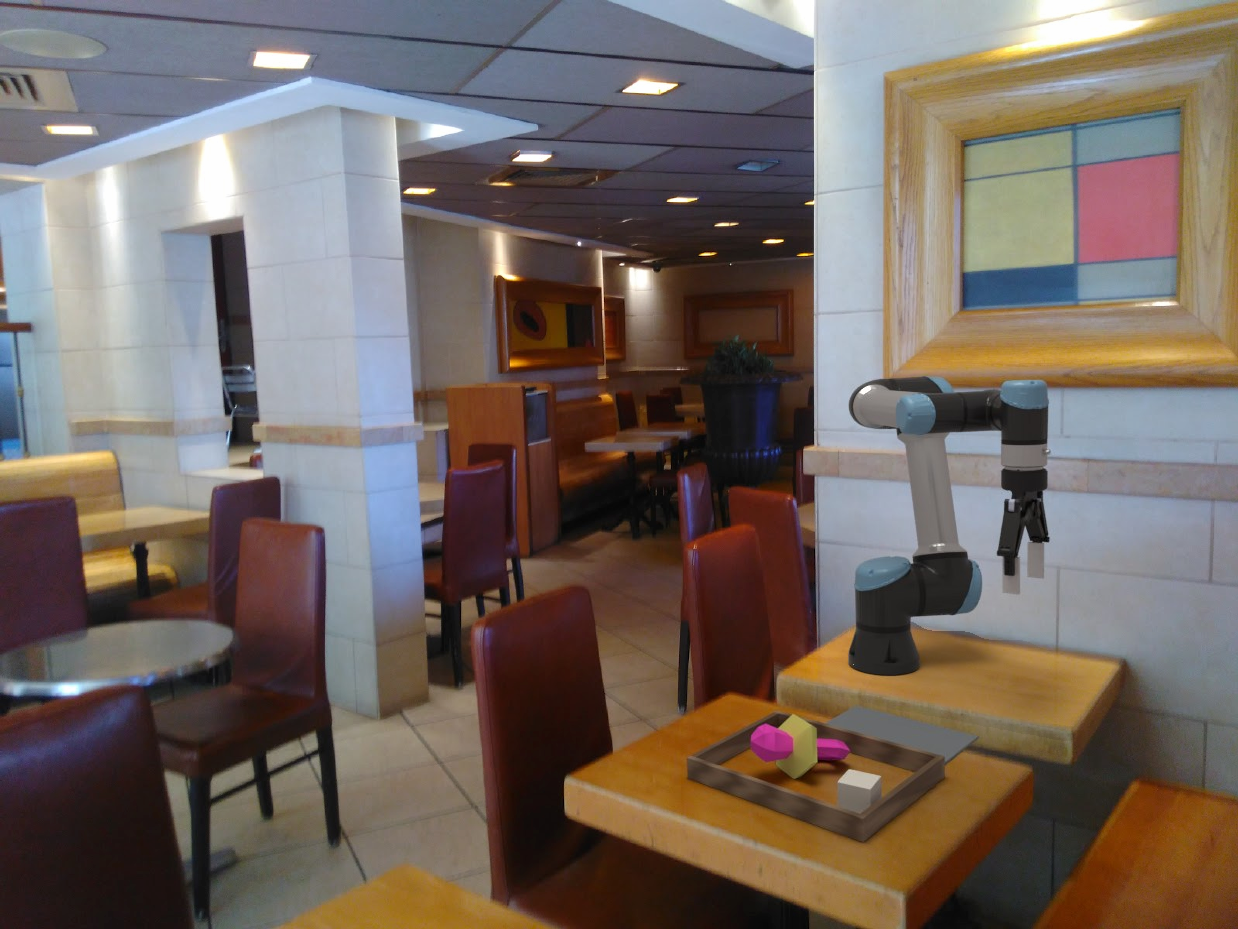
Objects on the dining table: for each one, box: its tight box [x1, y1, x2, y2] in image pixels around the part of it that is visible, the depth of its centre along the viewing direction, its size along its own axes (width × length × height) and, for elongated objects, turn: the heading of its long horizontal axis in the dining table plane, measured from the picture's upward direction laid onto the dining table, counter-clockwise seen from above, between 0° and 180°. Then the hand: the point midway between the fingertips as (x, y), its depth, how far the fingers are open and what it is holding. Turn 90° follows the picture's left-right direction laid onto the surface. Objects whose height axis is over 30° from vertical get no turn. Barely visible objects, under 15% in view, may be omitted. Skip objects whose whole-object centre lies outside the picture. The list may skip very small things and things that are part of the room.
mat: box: [824, 704, 980, 765], centre depth 161 cm, size 24×18×1 cm
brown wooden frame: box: [686, 710, 946, 843], centre depth 146 cm, size 32×26×4 cm
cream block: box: [836, 768, 883, 814], centre depth 135 cm, size 5×5×5 cm
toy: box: [750, 713, 850, 780], centre depth 149 cm, size 10×18×10 cm, turn 111°
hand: (1023, 585), depth 162 cm, fingers open, 13 cm apart
